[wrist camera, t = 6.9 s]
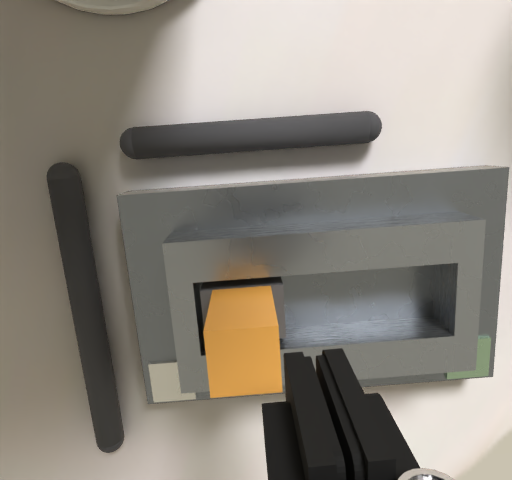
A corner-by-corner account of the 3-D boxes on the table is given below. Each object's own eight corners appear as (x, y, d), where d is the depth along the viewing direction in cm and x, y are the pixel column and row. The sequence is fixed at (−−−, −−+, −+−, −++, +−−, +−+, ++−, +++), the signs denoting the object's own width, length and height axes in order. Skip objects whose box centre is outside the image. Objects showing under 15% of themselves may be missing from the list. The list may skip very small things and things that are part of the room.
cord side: (127, 159, 22) (118, 160, 20) (122, 129, 21) (113, 127, 20) (375, 142, 22) (386, 141, 20) (375, 111, 21) (386, 108, 20)
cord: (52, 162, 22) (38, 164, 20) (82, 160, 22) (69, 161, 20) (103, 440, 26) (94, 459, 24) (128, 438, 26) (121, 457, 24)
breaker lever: (203, 277, 21) (187, 332, 15) (279, 271, 21) (294, 324, 15) (209, 326, 22) (194, 399, 15) (282, 320, 22) (297, 390, 15)
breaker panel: (127, 191, 22) (100, 202, 18) (485, 165, 22) (543, 169, 18) (155, 383, 25) (137, 433, 20) (473, 358, 25) (520, 402, 21)
